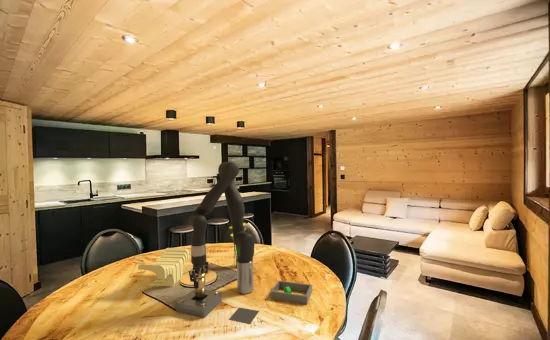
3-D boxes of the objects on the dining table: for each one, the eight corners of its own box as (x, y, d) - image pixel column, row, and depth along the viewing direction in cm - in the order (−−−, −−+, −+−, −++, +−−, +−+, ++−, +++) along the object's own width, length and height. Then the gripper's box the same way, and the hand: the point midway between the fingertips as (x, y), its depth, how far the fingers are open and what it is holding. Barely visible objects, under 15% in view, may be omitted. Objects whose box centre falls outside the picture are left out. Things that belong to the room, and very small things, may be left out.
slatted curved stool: (165, 297, 146) (164, 265, 145) (139, 295, 148) (138, 264, 147) (189, 274, 175) (188, 248, 175) (167, 273, 177) (166, 247, 177)
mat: (239, 308, 133) (238, 307, 133) (259, 311, 129) (259, 310, 129) (228, 320, 122) (228, 319, 122) (249, 324, 119) (249, 323, 119)
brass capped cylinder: (198, 291, 138) (197, 270, 137) (208, 292, 136) (207, 272, 135) (191, 296, 132) (190, 275, 132) (201, 298, 130) (200, 276, 130)
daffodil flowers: (250, 271, 179) (249, 220, 178) (228, 272, 177) (227, 221, 177) (250, 262, 195) (249, 216, 195) (230, 263, 194) (229, 216, 194)
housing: (196, 298, 144) (195, 287, 144) (221, 302, 139) (221, 291, 139) (176, 313, 129) (176, 301, 129) (204, 319, 124) (204, 306, 123)
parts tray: (278, 287, 155) (278, 280, 155) (312, 291, 148) (311, 284, 148) (270, 298, 142) (270, 291, 141) (307, 304, 135) (307, 296, 135)
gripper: (200, 248, 141) (201, 279, 142) (183, 257, 128) (184, 291, 128) (212, 249, 139) (213, 280, 139) (196, 258, 125) (197, 293, 126)
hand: (199, 285), depth 134 cm, fingers closed on brass capped cylinder, 5 cm apart
